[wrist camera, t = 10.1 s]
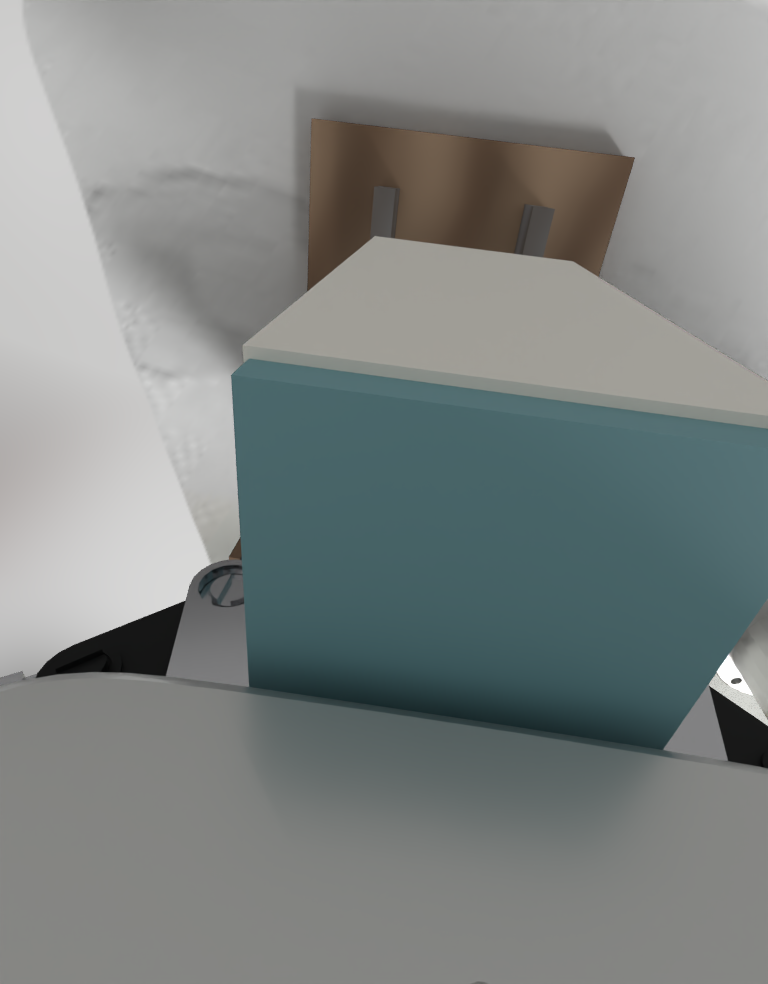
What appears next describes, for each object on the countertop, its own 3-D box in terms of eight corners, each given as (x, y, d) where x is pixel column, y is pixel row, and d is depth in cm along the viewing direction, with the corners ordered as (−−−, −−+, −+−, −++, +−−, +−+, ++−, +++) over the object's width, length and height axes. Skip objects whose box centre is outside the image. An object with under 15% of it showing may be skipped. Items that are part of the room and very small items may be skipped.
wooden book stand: (625, 158, 26) (812, 133, 13) (533, 464, 35) (587, 631, 22) (317, 121, 26) (192, 60, 13) (308, 433, 36) (230, 577, 23)
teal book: (569, 258, 12) (880, 449, 3) (475, 600, 18) (505, 981, 9) (376, 234, 12) (224, 360, 4) (346, 581, 18) (261, 940, 9)
